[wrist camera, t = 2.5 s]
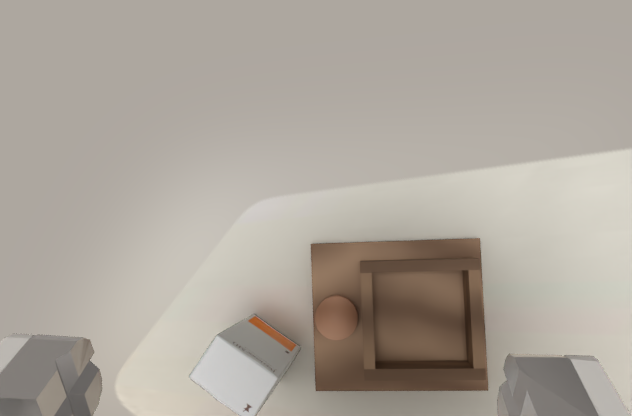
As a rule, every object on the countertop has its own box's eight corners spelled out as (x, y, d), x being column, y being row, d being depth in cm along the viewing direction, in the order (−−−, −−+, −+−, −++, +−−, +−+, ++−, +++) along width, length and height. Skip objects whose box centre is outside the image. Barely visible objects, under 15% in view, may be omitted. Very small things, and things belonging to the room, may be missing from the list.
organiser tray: (485, 386, 47) (496, 400, 43) (317, 387, 49) (312, 400, 45) (477, 238, 48) (487, 238, 44) (312, 243, 50) (306, 244, 46)
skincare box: (302, 345, 50) (281, 379, 38) (279, 381, 50) (250, 426, 38) (252, 310, 50) (216, 333, 38) (229, 346, 50) (185, 379, 38)
